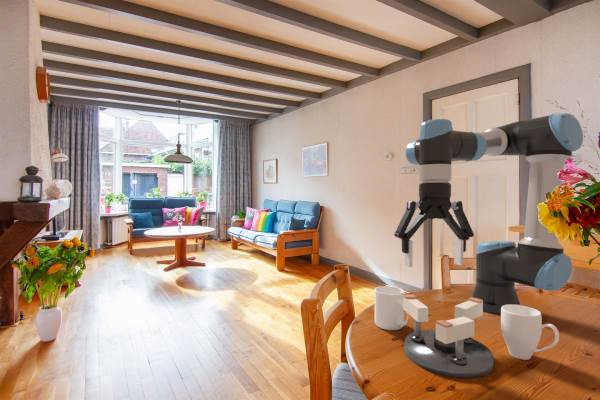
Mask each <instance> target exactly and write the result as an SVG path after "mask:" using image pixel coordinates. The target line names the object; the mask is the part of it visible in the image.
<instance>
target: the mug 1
mask: <svg viewBox="0 0 600 400" xmlns="http://www.w3.org/2000/svg"><path fill="white" fill-rule="evenodd" d="M403 295H405V291H404V289H402V288H400V287H395V286H392V285H391V286H390V285H381V286H377V287H375V288H374V324H375V326H377V327H378V328H379V329H382V330H386V331H397V330H400V329H403V327H405V326H407V324H408V322H409V320H410V319H409V318H410V315H409V314H408V313H407V312H406V311H405V310H404V309H403ZM405 312H406V315H407V317H406V320H404V319H405V317H404V316H405Z"/></svg>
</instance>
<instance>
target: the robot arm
mask: <svg viewBox="0 0 600 400" xmlns="http://www.w3.org/2000/svg"><path fill="white" fill-rule="evenodd" d="M419 129H420V130H419V138H418V139H416V140H414V141H410V142H409V143H408V144H407V145H406V148H405V153H404V154H405V158H406V160H407V161H408V162H409V163H410V164H411V165H419V168H418V170H419V172H418V173H419V175H418V178H419V179H418V180H419V182H420V183H419V185H418V197H419V200H418V202H417V201H414V200H413V201H412V200H408V201H407V202H406V207H405V208H406V209H405V212H404V213H403V216H402V218H401V219H400V222H399V224H398V226H397V227H396V230H395V232H394V234H393V235H394V237H396V238H398V239H400V240H401V252H402V253H404V266H406V267H408V268H413V254H414V252H413V250H414V249H413V247H414V246H413V245H414V244H413V242H414V240H411V238H412V237H414V235H415V233H416V232H417V231H418V230H419V228H420V227H421V226H422V225H423V224H424V222H426V221H427V220H428V219H430V220H434V219H439V220H443V221H444V223H446V225H447V226H448V228H450V229H451V232H452V233H453V234H454V235H455V236H456V237H457V238H454V241H453V242H454V243H453V247H454V249H453V250H454V251H453V264H454V265H457V266H459V267H460V266H461V267H462V266H464V253H465V252H466V251H467V241H469V240H470V238H473V237H474V236H475V234H474V231H473V229H472V227H471V225H470V222H469V219H468V218H467V216H466V213H465V212H464V207H463V205H464V204H463V202H462V200H453V201H451V197H452V184H451V182H449V181H452V162H459V161H463V162H471V161H472V162H473V161H478V160H480V159H481V158H483V156H486V155H487V156H489V157H497V156H525V158H524V159H525V160H526V161H527V162H528V163H529V164H530V166H529V176H528V185H527V186H528V189H527V197H526V199H527V200H526V201H527V202H526V208H525V209H526V211H525V223H524V234H523V237H522V239H519V241H518V242H517V244H516V242H515V241H509V240H501V241H500V240H499V241H498V240H496V241H494V240H492V241H481V242H479V243H478V244H477V245H476V253H475V256H476V258H475V259H476V260H475V261H476V263H475V267H476V269H475V270H476V272H475V273H476V275H475V278H476V279H475V284H474V287H473V290H472V293H471V295H470V297H469V298H471V297H473V298H477V299H481V300H483V312H486V313H491V314H498V315H501V307H502V306H503V305H509V304H513V305H521V302H520V299H519V296H518V294H517V291H516V286H515V284H519V285H524V286H527V287H532V288H535V289H537V290H544V291H549V292H556V291H559V290H561V289H562V288H564V287H565V285H566V284H567V283H568V282H569V280H570V277H571V274H572V271H573V263H572V258H571V257H570V256H568V254H565V253H564V246H563V245H562V244H561V243H560V242H559V237H558V238H557V237H556V236H555V234H553V233H549V232H548V229H547V228H546V227H544V226H543V225H542V224H541V223H540V222H539V220H538V214H537V213H538V208H537V205H538V204H539V203H542V202H545V201H546V197H545V194H546V193H548V192H552V191H553V190H554V188H555V187H556V186H559V185H561V184H562V183H563V184H564V180H563V181H561V180H559V179H558V178H557V173H558V171H560V170H563V169H564V170H565V164H564V162H565V160H566V159H568V158H571V159H572V158H573V157H572V156H573V152H577V151H578V150H579V149H580V148H582V144H583V141H584V135H583V129H582V126H581V124H580V122H579V120H578V119H577V117H575V116H574V115H573V114H572V113H568V112H567V113H566V112H563V113H557V114H555V113H553V114H550V115H545V116H540V117H534V118H530V119H525V120H518V121H514V122H511V123H507V124H504V125H500V126H497V127H492V128H488V129H487V130H485V131H481V132H480V131H479V132H473V131H462V130H461V131H459V130H453V129H454V127H453V123H452V121H451V120H450V119H446V118H436V119H435V118H434V119H429V120H426V121H423V122H422V123H421V124H420V128H419ZM418 208H419V209H418ZM417 209H418V210H420V211H419V212H418V213H417V215H416V217H415V218H414V219H413V221H412V218H413V217H414V215H415V212H416V210H417ZM450 210H452V211H453V214H454V215H455V218H456V220H457V221H456V220H455V219H454V216H453V215H452V214H451V212H450ZM411 221H412V222H411ZM457 222H458V223H457Z"/></svg>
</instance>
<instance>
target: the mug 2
mask: <svg viewBox="0 0 600 400" xmlns="http://www.w3.org/2000/svg"><path fill="white" fill-rule="evenodd" d="M542 319H543V318H542V313H541V311H540V310H538V309H535V308H533V307H530V306H526V305H521V304H520V305H513V304H509V305H503V306H502V307H501V314H500V328H501V334H502V336H503V338H504V339H503V340H504V341H505V344H506V347H507V350H508V352H509V354H510V355H511V356H512V357H513V358H516V359H518V360H523V361H526V360H530V359H532V356H533V355H534V353H540V352H543V351H546V350H548V349H551V348H553V347H554V346H556V345H557V344H558V343H559V341H560V332H559V329H558V328H557V327H556V326H555V325H554V324H552V323H544V324H543V321H542ZM545 328H551V329H552V331H553V332H554V340H553V342H552V343H551V344H549V345H548V346H545V347H543V348H542V347H541V348H540V349H538V348H537V347H538V345H539V342H540V340H541V337H542V333H543V332H542V331H543V329H545Z"/></svg>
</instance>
